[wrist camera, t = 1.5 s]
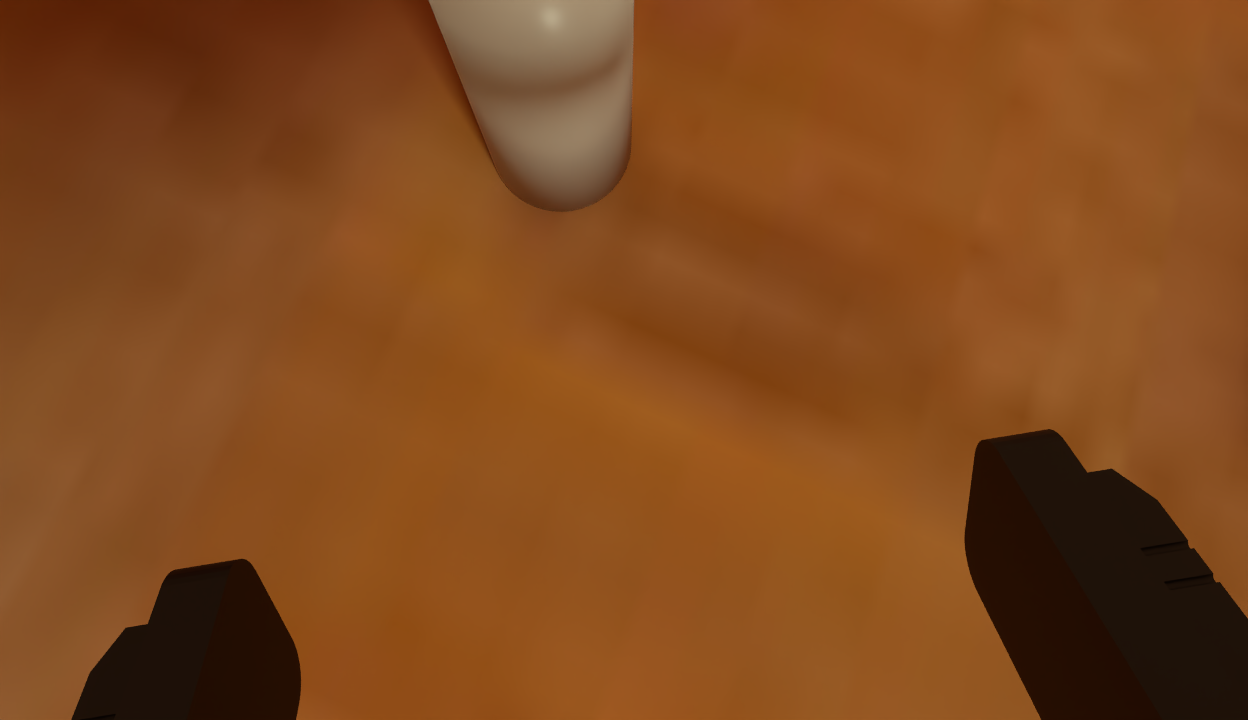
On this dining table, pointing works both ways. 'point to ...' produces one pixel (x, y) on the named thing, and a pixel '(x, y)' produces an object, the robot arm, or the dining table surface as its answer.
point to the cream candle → (547, 91)
